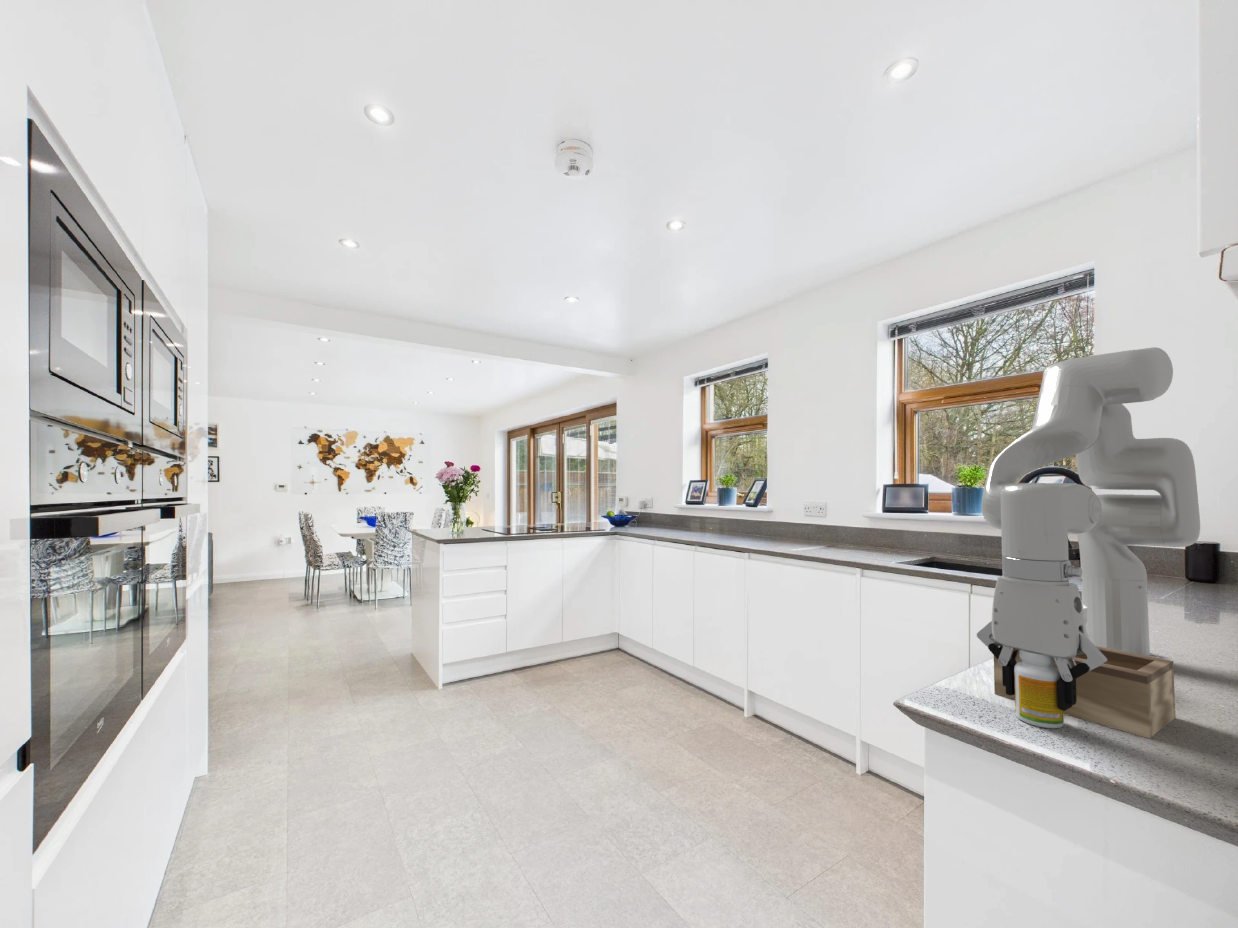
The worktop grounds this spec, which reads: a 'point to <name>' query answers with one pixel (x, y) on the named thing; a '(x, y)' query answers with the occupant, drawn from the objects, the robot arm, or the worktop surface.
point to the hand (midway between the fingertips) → (1038, 699)
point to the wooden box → (1120, 692)
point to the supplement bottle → (1037, 690)
